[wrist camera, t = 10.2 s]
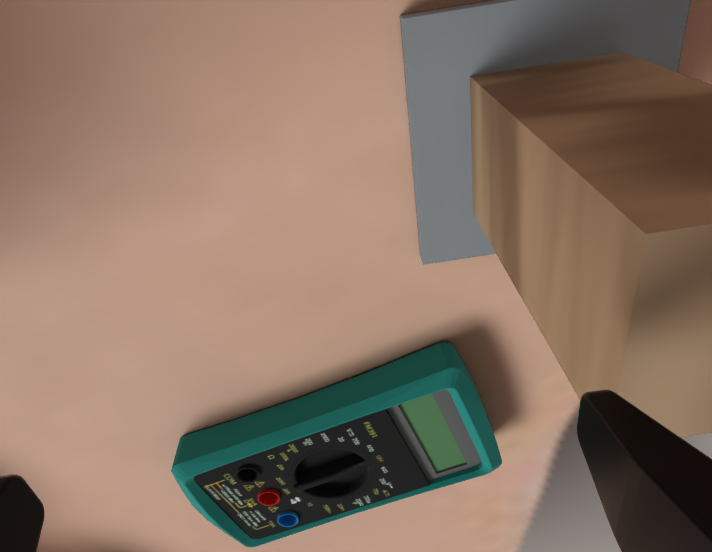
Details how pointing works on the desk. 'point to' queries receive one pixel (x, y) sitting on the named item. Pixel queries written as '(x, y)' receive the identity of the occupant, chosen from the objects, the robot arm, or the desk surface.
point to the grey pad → (495, 54)
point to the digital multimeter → (340, 449)
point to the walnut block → (606, 222)
